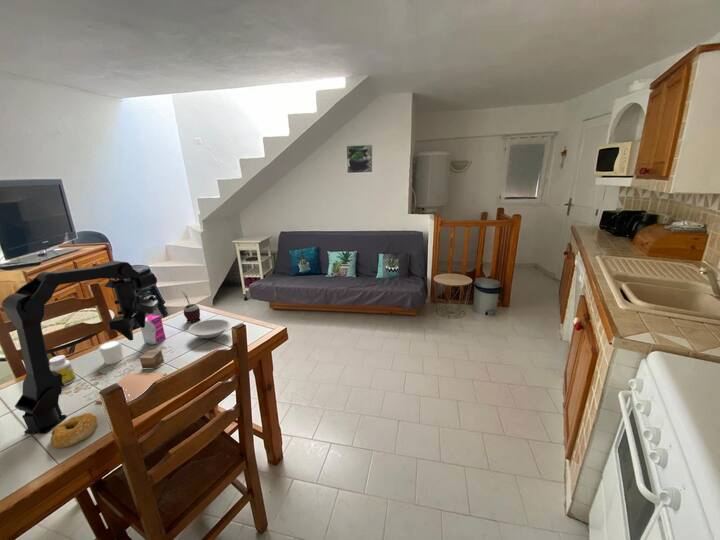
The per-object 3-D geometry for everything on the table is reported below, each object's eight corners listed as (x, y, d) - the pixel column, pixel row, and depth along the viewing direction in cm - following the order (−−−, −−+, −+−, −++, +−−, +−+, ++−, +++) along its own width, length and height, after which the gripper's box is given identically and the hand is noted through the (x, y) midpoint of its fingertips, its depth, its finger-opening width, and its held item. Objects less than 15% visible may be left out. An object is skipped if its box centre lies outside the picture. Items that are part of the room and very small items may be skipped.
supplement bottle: (51, 388, 103) (41, 364, 100) (61, 378, 108) (52, 355, 105) (70, 385, 105) (61, 361, 102) (79, 375, 110) (71, 352, 107)
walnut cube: (155, 369, 113) (152, 357, 111) (142, 369, 113) (139, 357, 111) (164, 361, 118) (161, 350, 116) (151, 361, 118) (148, 350, 116)
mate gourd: (198, 323, 146) (192, 295, 142) (181, 324, 146) (174, 296, 141) (203, 316, 154) (198, 289, 149) (187, 317, 153) (181, 290, 148)
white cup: (113, 366, 115) (108, 350, 113) (98, 364, 116) (93, 348, 114) (129, 355, 121) (125, 340, 119) (115, 354, 122) (111, 339, 120)
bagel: (88, 415, 92) (83, 402, 90) (106, 428, 87) (101, 415, 85) (45, 440, 83) (38, 427, 82) (62, 456, 79) (56, 443, 77)
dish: (237, 329, 141) (235, 319, 139) (221, 345, 127) (219, 335, 126) (202, 327, 142) (200, 318, 141) (182, 344, 129) (180, 334, 127)
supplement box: (155, 345, 128) (148, 321, 125) (144, 343, 130) (137, 320, 126) (166, 338, 134) (160, 315, 130) (156, 336, 135) (150, 314, 131)
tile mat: (138, 403, 96) (137, 401, 96) (96, 402, 96) (95, 400, 96) (166, 374, 109) (165, 373, 109) (129, 374, 110) (128, 372, 109)
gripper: (139, 303, 99) (150, 344, 104) (161, 283, 116) (170, 319, 121) (100, 307, 97) (114, 348, 102) (129, 286, 114) (139, 322, 119)
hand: (137, 333), depth 111 cm, fingers open, 9 cm apart
